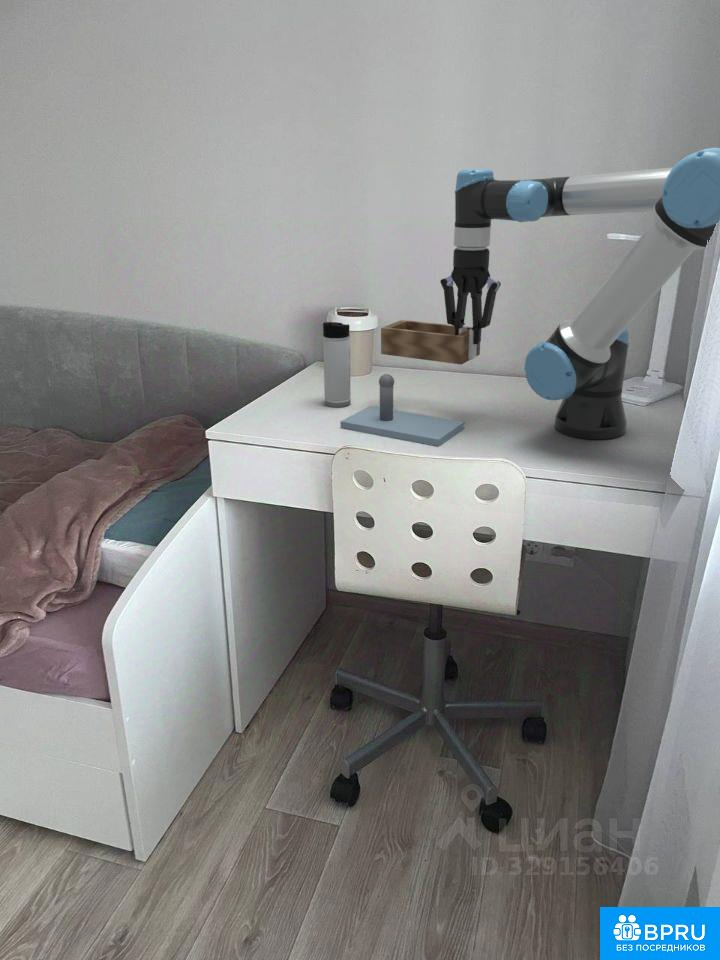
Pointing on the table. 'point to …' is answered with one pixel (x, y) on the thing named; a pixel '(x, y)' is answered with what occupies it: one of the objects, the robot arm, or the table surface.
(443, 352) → the wooden storage tray
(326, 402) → the travel mug
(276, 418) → the table surface
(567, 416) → the robot arm
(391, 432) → the plate
